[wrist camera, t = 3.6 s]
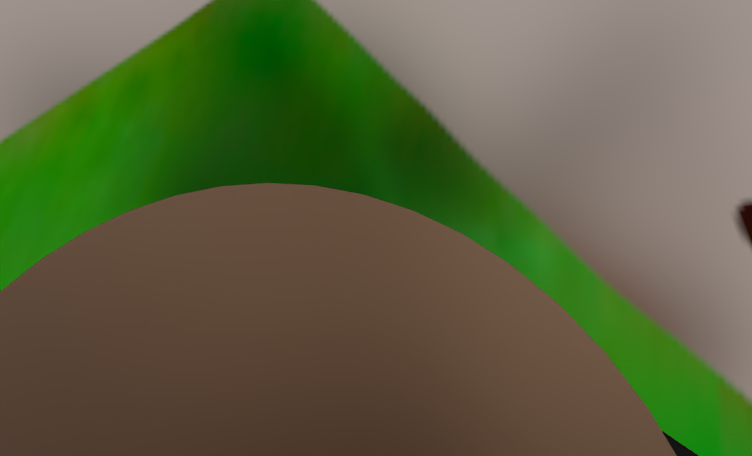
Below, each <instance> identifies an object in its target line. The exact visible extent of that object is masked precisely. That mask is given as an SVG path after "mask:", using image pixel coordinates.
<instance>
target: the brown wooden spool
mask: <svg viewBox="0 0 752 456" xmlns="http://www.w3.org/2000/svg"><path fill="white" fill-rule="evenodd" d="M0 456H677V455H676V454H675V452H674V450H673V449H672V447H671V446H670V444H669V442H668V441H667V439H666V437H665V436H664V434H663V432H662V431H661V429H660V427H659V426H658V424H657V422H656V421H655V419H654V417H653V416H652V414H651V412H650V411H649V409H648V408H647V406H646V405H645V404H644V403H643V401H642V400H641V399H640V397H639V396H638V395H637V393H636V392H635V391H634V389H633V388H632V387H631V386H630V384H629V383H628V382H627V380H626V379H625V378H624V376H623V375H622V374H621V372H620V371H619V370H618V369H617V367H616V366H615V365H614V363H613V362H612V361H611V359H610V358H609V357H608V356H607V354H606V353H605V352H604V351H603V350H602V349H601V347H600V346H599V345H598V344H597V343H596V342H595V341H594V340H593V339H592V338H591V337H590V336H589V335H588V334H587V333H586V332H585V331H584V330H583V329H582V328H581V327H580V326H579V325H578V324H577V323H576V322H575V320H574V319H573V318H572V317H571V316H570V315H569V314H568V313H567V312H566V311H565V310H564V309H563V308H562V307H561V306H560V305H559V304H558V303H557V302H556V301H554V300H553V299H552V298H551V297H550V296H548V295H547V294H546V293H545V292H543V291H542V290H541V289H540V288H539V287H537V286H536V285H535V284H534V283H532V282H531V281H530V280H529V279H528V278H526V277H525V276H524V275H523V274H522V273H520V272H519V271H518V270H517V269H515V268H514V267H513V266H512V265H510V264H509V263H507V262H506V261H504V260H503V259H501V258H499V257H498V256H496V255H495V254H493V253H492V252H490V251H488V250H487V249H485V248H484V247H482V246H481V245H479V244H477V243H476V242H474V241H473V240H471V239H470V238H468V237H466V236H465V235H463V234H462V233H459V232H457V231H455V230H453V229H451V228H449V227H447V226H445V225H443V224H440V223H438V222H436V221H434V220H432V219H430V218H428V217H426V216H424V215H421V214H419V213H417V212H415V211H413V210H410V209H407V208H404V207H401V206H398V205H395V204H391V203H388V202H385V201H382V200H379V199H376V198H373V197H370V196H367V195H364V194H358V193H353V192H348V191H342V190H337V189H332V188H326V187H321V186H316V185H298V184H280V183H258V184H245V185H231V186H219V187H214V188H210V189H205V190H200V191H195V192H190V193H185V194H180V195H175V196H172V197H169V198H166V199H163V200H160V201H157V202H154V203H151V204H148V205H145V206H142V207H139V208H136V209H133V210H130V211H128V212H126V213H124V214H121V215H119V216H117V217H115V218H113V219H111V220H109V221H107V222H105V223H102V224H100V225H98V226H96V227H94V228H92V229H90V230H88V231H86V232H84V233H82V234H81V235H79V236H78V237H76V238H74V239H73V240H71V241H70V242H68V243H66V244H65V245H63V246H62V247H60V248H58V249H57V250H55V251H54V252H52V253H50V254H49V255H47V256H46V257H44V258H42V259H41V260H40V261H39V262H37V263H36V264H35V265H34V266H32V267H31V268H30V269H29V270H27V271H26V272H25V273H23V274H22V275H21V276H20V277H18V278H17V279H16V280H15V281H13V282H12V283H11V284H9V285H8V286H7V287H6V288H4V289H3V290H2V291H1V292H0Z"/></svg>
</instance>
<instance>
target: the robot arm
mask: <svg viewBox="0 0 752 456" xmlns="http://www.w3.org/2000/svg"><path fill="white" fill-rule="evenodd" d="M662 432H663V431H662ZM663 434H664V436H665V437H666V439H667V441H668V442H669V444H670V446H671V447H672V449H673V450H674V452H675V454H676V455H677V456H698V455H697V454H695V453H694V452H692V451H691V450H689V449H688V448H686V447H685V446H683V445H682V444H680V443H679V442H677V441H676V440H675V439H673V438H672V437H670V436H669V435H667V434H666V433H664V432H663Z"/></svg>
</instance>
